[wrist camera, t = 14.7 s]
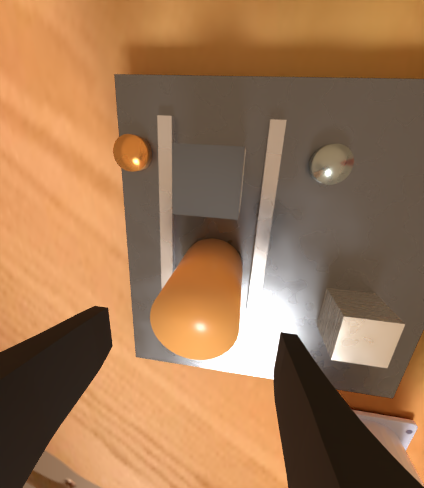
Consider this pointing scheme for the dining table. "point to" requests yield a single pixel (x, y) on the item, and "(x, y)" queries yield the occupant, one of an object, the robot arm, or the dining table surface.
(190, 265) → the cap
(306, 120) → the panel
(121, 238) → the dining table surface
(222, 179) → the lever
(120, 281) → the dining table surface
